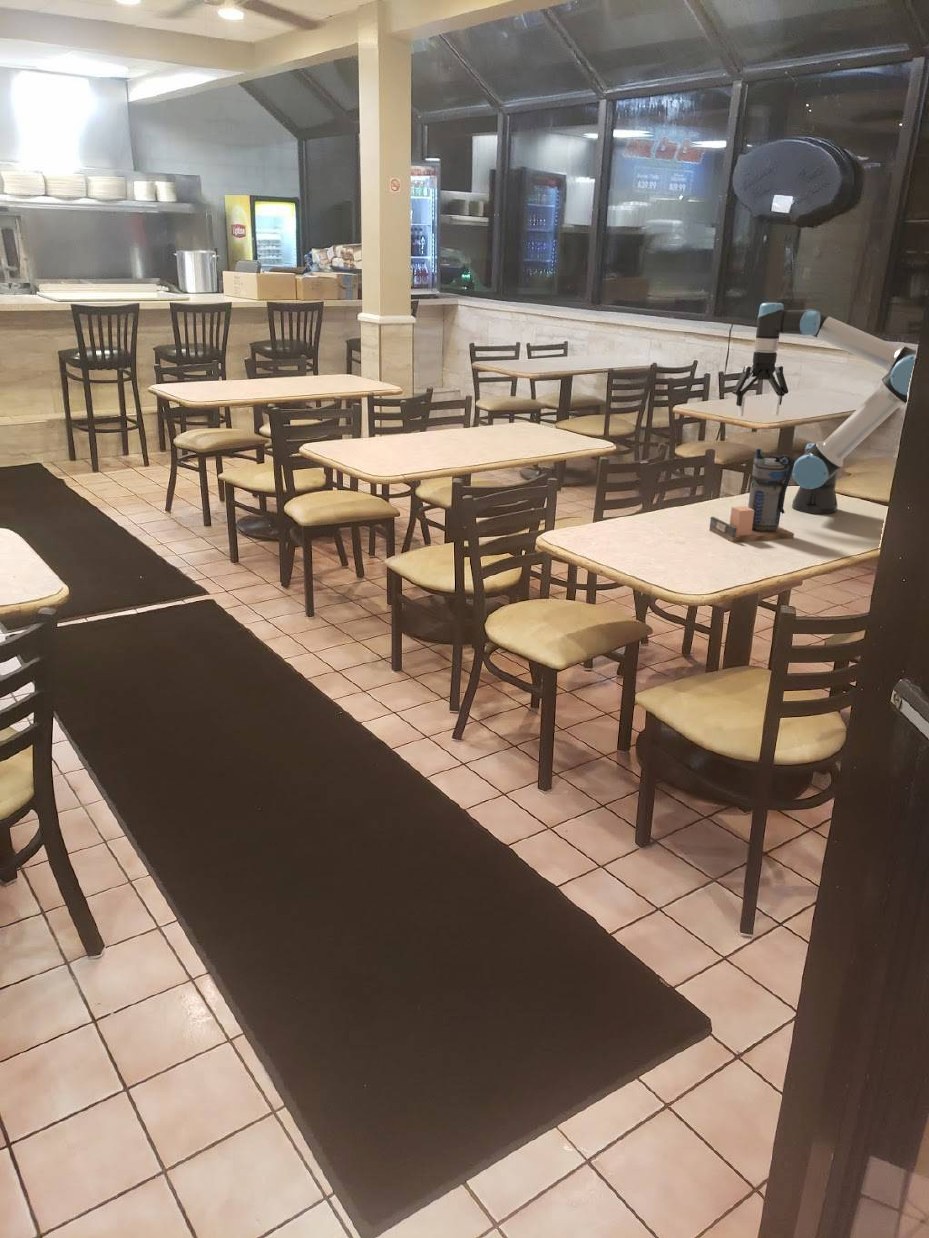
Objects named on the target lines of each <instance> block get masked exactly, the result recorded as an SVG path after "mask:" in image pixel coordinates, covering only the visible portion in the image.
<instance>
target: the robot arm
mask: <svg viewBox="0 0 929 1238" xmlns="http://www.w3.org/2000/svg"><path fill="white" fill-rule="evenodd" d="M780 334H783V335H784V334H785V335H786V334H788V335H800V336H801V335H802V336H812V337H814V338H817V339H820V340H822V341H824V342H826V343H828V344H830V345H832V346H835V347H837V348H840V349H842V350H843V351H846V352H848V353H850V354H852V355H855V356H857V357H859V358H861V359H863V360H866V361H868V362H870V363H872V364H875V365H877V366H879V367H880V368H883V369H885V370H887V373H886V374H885V375H884V376H883V378H881V380H880V387H878V389H877V390H876V391H874V393H872V395H870V396H869V398H868V399H866V400H865V401H864V402H863V403H862V404H861V405H860V406H859V407H858V408H857V409H856V410H855V411H853V413H851V415H849V416H848V418H847V419H846V420H845V421H844V422H842V423H841V424H840V425H839V426H838V427H837V428H836V429H835V430H834V431H833V432H832V433H831V434H830V435H828V437H827V438H826V439H825V440H823V441H819V440H817V441H816V442H813V443H811V442H810V443H807V444H806V446H805V449H804V452H805V453H804V454H803V455H801V456H800V457H798V458H797V459H796V460H795V462H794V468H793V471H792V474H791V476H792V478H793V480H794V481H795V483H796V485H798V486H799V488H798V490H797V492H796V494H795V496H794V498H793V500H792V503H791V508H792V509H794V510H797V511H799V512H804V513H809V514H820V515H821V514H822V515H823V514H825V515H826V514H834V513H837V511H838V506H839V505H838V500H837V494H836V483H837V477H838V472H839V471H838V470H840V469H841V468H842V467H843V466H844V459H845V458H846V457H847V456H848V455H849V454H850V453H852V451H854V449H856V447H858V446H859V445H860V444H861V443H862V442H863V441H864V440H865V439H866V438H867V437H868V436H869V435H870V434H872V432H874V431H875V430H876V429H877V428H878V427H879V426H880V425H881V424H882V423H883V422H884V421H886V419H887V418H888V417H890V416H891V415H892V414H893V413H894V412H895V411H896V410H897V409H898V408H900V406H907V405H906V402H907V392H908V387H909V382H910V378H911V373H912V370H913V366H914V361H915V355H916V351H917V350H916V349H913V348H910V347H908V346H905V345H902V346H900V347H899V346H898V345H894V344H893V343H890V342H888V341H885V340H884V339H881V338H879V337H876V336H874V335H872V334H871V333H868V332H865V331H864V330H861V329H858V328H856V327H853V326H852V325H850V324H847V323H845V322H842V321H840V320H838V319H836V318H834V317H831V316H829V315H826V314H824V313H822V312H821V311H820V310H818V309H816V308H807V309H802V310H800V309H799V310H798V309H797V310H795V309H789V310H788V309H785V308H784V304H783V303H781V302H763V303H761V304H760V305H759V311H758V316H757V325H756V334H755V339H754V340H755V341H754V352H753V357H752V366H748V365H744V366H743V369H742V372H741V375H740V377H738V378H739V379H738V380H737V382H736V384H735V385H734V388H733V389H732V392H731V393H732V394H733V395H735V396H736V402H735V403H736V404H735V405H736V406H737V412H736V415H737V416H739V417H743V416H744V411H745V402H746V396H745V395H746V393H747V392H748V391H749V389H751V387H752V386H753V385H754V383H755V382H757V381H762V380H764V381H768V382H769V384H770V386H771V387H772V389H773V391H774V392H775V394H773V403H772V410H771V415H774V416H779V411H780V410H779V409H780V406H781V405H782V401H783V397H784V396H785V395H786V394H788V393H789V389H788V384H787V382H786V379H785V376H784V366H782V365H776V362H777V357H778V353H777V351H778V350H779V342H780ZM775 365H776V366H775ZM774 372H775V375H776V377H775V375H774ZM750 374H751V375H750ZM776 379H777V380H776Z"/></svg>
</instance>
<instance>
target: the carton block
mask: <svg viewBox="0 0 929 1238" xmlns="http://www.w3.org/2000/svg"><path fill="white" fill-rule="evenodd" d="M730 512H731V513H730V516H729V517H730V518H729V525H731V526H734V527H736V528H737V529H736V535H737V536H741V535H751V532H752V525H753V517H754V510H753V509H751V508H749V507H748V506H745V505H743V506H731V511H730Z"/></svg>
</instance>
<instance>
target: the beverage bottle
mask: <svg viewBox="0 0 929 1238" xmlns="http://www.w3.org/2000/svg"><path fill="white" fill-rule="evenodd" d="M761 450H762V449H761V448H757V449H756V450H755V452H754V454H753V456H752V473H751V475H752V477H753V480H752V481H751V482H750V490H749V497H748V505H747V507H749V508H751V509H753V510H754V517H753V525H752V529H753V530H757V531H772V530H776V529H777V528H778V526H779V527H780V521H781V520H780V519H781V514H782V515H783V514H785V510H784V504H785V497H786V491H787V489H788V485H789V483H790V479H791V477H792V471H793V468H794V464H795V461H796V460H795V459H794V458H793V457H792V455H787V454H782V455H776V454H770V455H761ZM783 481H784V482H783Z"/></svg>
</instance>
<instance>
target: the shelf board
mask: <svg viewBox="0 0 929 1238" xmlns="http://www.w3.org/2000/svg"><path fill="white" fill-rule="evenodd" d="M736 529H737V528H736V527H734V526H731V525H730V523H727V522H725V521H723V520H721V519H719V518H717V517H715V516H711V517H710V522H709V530H708V531H710V532H712V533H714V534H716V535H718V536H720V538H723V539H724V540H727V541H729V542H731V543H737V542H738V543H740V542H754V541H769V540H783V539H794V537H795V533H794V532H791V530H788V529H785V528H783V527H780V525H779V526H778V528H777V529H776V530H772V531H757V530H753V529H752V532H751V535H741V536H737V535H736Z"/></svg>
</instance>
